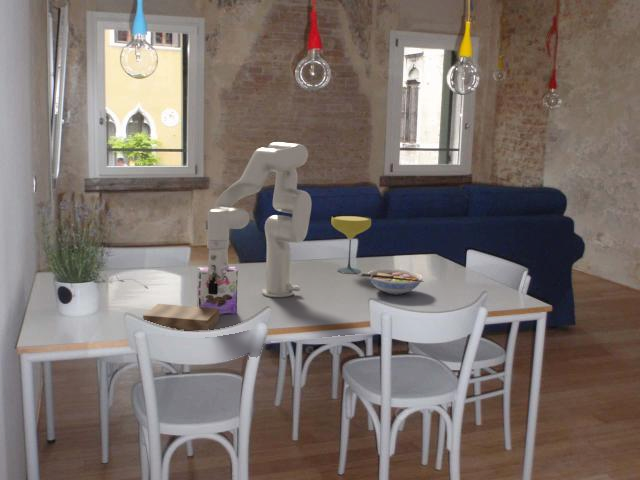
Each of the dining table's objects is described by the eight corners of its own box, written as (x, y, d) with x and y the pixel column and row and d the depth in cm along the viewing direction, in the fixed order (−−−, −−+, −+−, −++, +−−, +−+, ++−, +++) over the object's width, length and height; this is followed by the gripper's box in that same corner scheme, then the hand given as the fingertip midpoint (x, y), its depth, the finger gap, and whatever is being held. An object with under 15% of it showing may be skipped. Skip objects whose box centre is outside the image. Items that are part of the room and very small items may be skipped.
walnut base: (218, 319, 247) (219, 308, 247) (207, 332, 234) (207, 320, 233) (158, 314, 250) (158, 303, 249) (143, 326, 237) (143, 315, 236)
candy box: (198, 315, 251) (198, 270, 248) (196, 311, 256) (197, 266, 253) (237, 314, 255) (238, 269, 251) (234, 309, 260) (235, 265, 257)
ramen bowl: (427, 289, 300) (429, 270, 298) (420, 303, 278) (421, 283, 277) (370, 282, 306) (371, 264, 305) (358, 296, 285) (359, 276, 283)
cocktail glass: (321, 269, 327) (323, 216, 322) (349, 264, 339) (351, 213, 334) (348, 277, 314) (351, 222, 309) (376, 272, 326) (379, 218, 321)
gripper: (221, 249, 242) (220, 297, 245) (234, 240, 259) (233, 286, 262) (200, 247, 243) (199, 296, 246) (214, 239, 260) (213, 284, 263)
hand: (216, 290), depth 254 cm, fingers open, 9 cm apart
